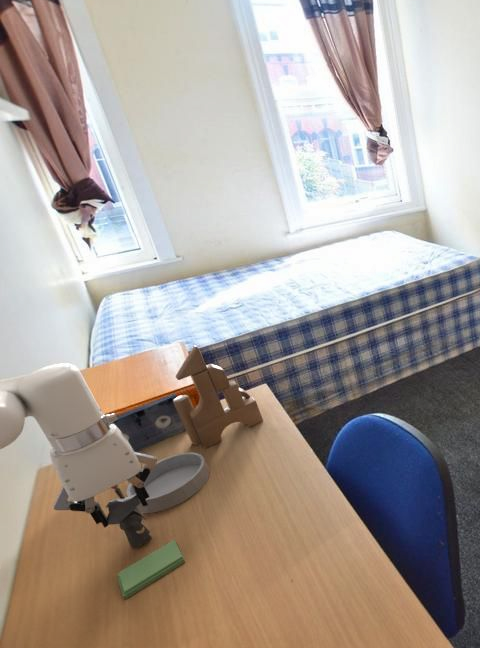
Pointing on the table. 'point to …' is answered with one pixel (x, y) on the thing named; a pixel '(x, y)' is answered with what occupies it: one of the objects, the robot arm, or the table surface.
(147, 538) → the wizard figurine
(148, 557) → the green rectangular block
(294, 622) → the table surface
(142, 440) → the vhs cassette tape
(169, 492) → the metal pan
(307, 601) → the table surface
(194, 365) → the wooden toy
